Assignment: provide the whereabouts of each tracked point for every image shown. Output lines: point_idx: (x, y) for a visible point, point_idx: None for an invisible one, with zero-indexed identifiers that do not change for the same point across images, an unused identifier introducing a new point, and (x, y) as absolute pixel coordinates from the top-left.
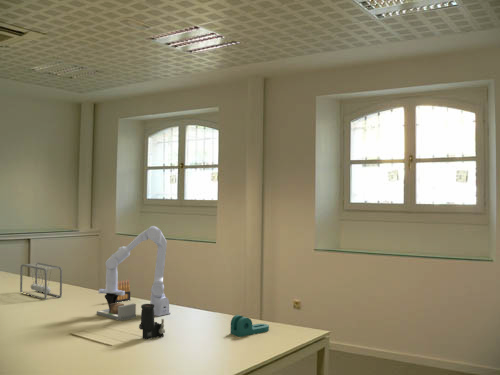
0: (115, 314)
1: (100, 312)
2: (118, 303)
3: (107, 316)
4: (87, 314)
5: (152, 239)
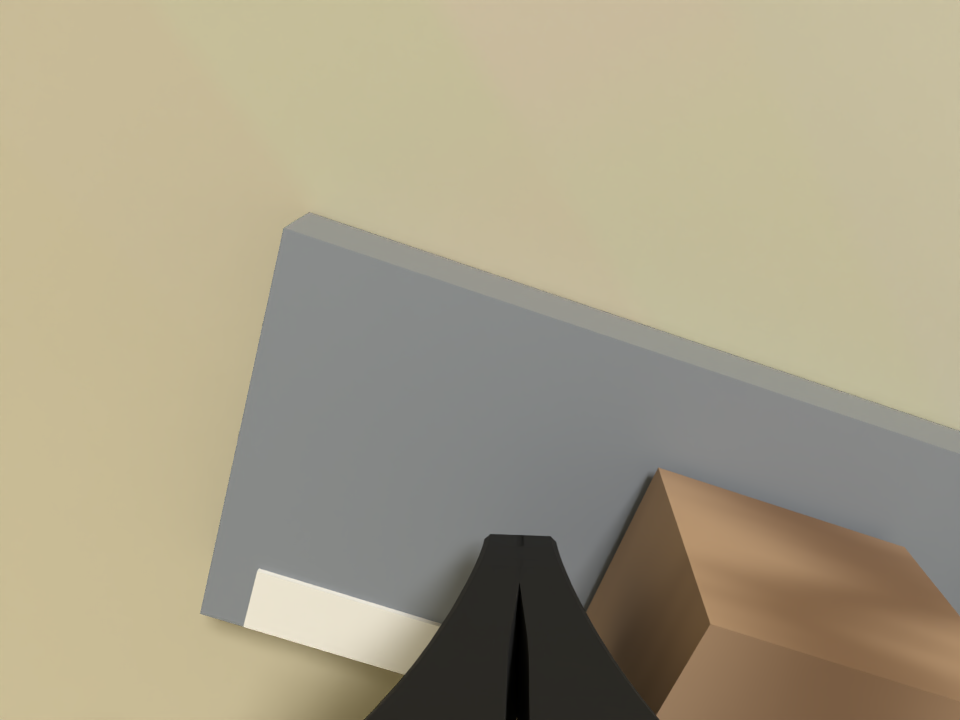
0: None
1: (340, 649)
2: (805, 714)
3: None
4: (90, 630)
5: None
